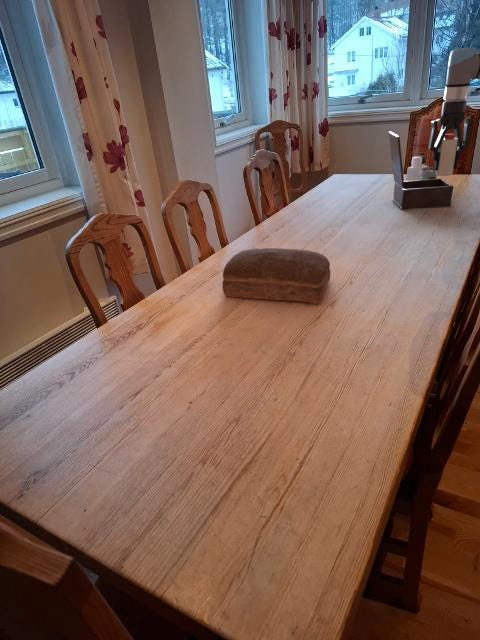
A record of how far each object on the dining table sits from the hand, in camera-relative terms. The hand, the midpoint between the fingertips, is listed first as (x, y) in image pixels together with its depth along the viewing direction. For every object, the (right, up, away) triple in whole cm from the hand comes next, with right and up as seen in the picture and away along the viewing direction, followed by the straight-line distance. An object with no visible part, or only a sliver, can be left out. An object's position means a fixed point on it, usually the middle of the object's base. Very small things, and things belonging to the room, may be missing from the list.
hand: (444, 168), depth 161 cm
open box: (0, -7, +22) cm, 23 cm away
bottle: (0, -2, +1) cm, 2 cm away
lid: (-13, +9, +14) cm, 21 cm away
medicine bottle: (+11, +12, +54) cm, 56 cm away
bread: (-66, -48, -35) cm, 89 cm away
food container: (+8, +2, +37) cm, 38 cm away
